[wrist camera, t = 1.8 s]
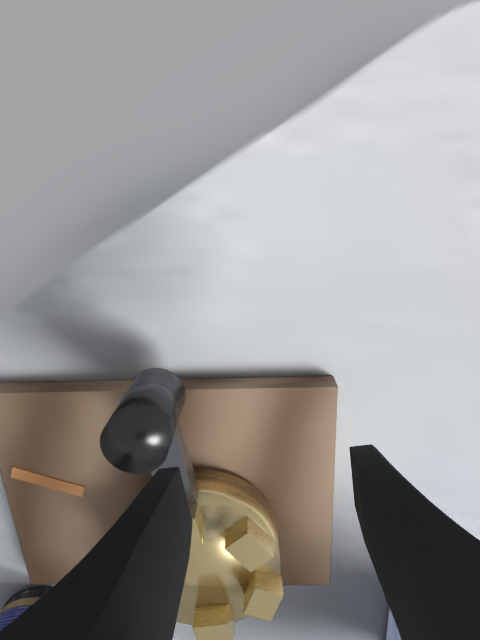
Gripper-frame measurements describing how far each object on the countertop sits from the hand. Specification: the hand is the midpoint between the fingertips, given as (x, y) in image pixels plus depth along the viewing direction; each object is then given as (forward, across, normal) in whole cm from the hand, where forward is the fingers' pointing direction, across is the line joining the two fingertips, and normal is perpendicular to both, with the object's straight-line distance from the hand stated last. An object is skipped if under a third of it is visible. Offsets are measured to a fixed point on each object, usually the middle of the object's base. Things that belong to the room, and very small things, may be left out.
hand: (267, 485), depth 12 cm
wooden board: (+9, +6, +7) cm, 13 cm away
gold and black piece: (+8, +5, +6) cm, 11 cm away
